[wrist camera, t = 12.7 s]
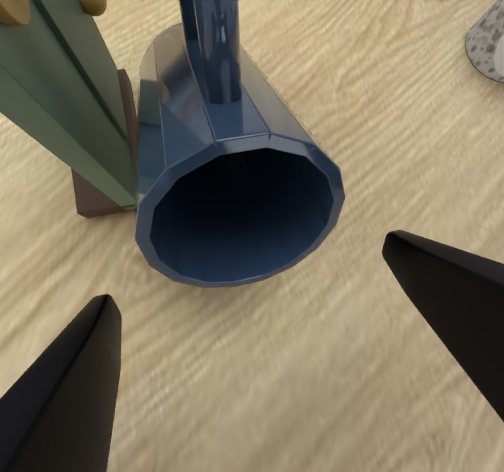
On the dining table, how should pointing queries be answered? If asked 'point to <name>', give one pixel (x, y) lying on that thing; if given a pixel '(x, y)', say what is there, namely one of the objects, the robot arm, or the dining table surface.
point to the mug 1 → (224, 160)
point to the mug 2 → (488, 42)
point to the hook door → (71, 97)
